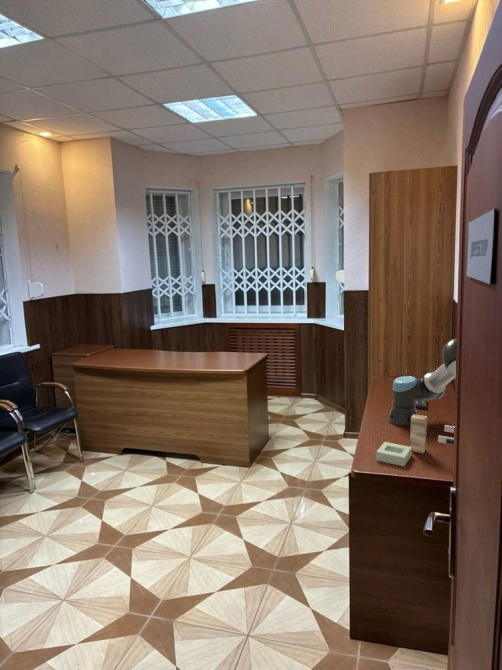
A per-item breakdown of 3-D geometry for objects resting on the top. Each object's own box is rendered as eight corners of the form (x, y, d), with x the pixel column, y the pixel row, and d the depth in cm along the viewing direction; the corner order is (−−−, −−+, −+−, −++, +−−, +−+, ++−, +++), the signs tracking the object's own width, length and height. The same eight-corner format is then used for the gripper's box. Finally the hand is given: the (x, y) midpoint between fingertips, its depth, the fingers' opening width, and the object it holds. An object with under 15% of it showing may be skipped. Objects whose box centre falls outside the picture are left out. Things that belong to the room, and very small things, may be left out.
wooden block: (411, 447, 216) (413, 414, 213) (425, 450, 213) (427, 416, 210) (409, 450, 212) (411, 417, 210) (423, 453, 209) (425, 419, 206)
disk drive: (426, 410, 264) (426, 402, 278) (426, 406, 264) (426, 397, 277) (407, 409, 268) (407, 400, 281) (407, 404, 267) (408, 396, 281)
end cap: (384, 450, 214) (384, 441, 213) (411, 455, 207) (411, 447, 207) (376, 460, 204) (376, 451, 203) (404, 466, 197) (404, 457, 197)
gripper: (491, 462, 185) (435, 451, 196) (498, 440, 205) (446, 431, 217) (493, 445, 183) (435, 434, 195) (499, 424, 204) (447, 416, 215)
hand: (441, 433), depth 206 cm, fingers open, 13 cm apart
